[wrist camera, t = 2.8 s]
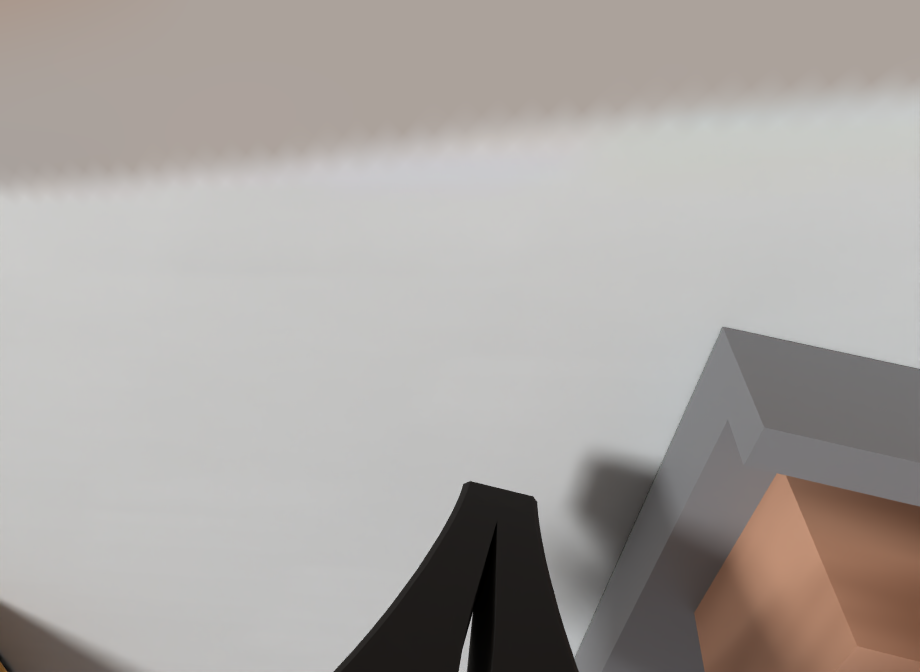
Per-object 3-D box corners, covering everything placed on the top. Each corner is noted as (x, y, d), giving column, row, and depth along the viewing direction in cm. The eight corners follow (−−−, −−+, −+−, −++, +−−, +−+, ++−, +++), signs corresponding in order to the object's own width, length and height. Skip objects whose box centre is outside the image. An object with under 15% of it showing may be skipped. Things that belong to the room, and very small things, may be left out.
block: (1040, 525, 10) (1223, 739, 7) (902, 665, 13) (1000, 870, 10) (781, 465, 11) (857, 646, 8) (693, 612, 13) (726, 795, 10)
